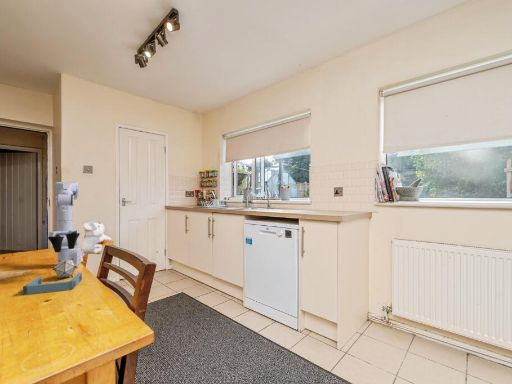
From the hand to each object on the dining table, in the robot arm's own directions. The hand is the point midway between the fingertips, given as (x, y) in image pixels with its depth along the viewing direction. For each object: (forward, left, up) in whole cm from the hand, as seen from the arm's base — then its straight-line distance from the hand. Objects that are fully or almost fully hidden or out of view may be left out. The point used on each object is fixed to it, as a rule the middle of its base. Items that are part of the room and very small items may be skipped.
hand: (64, 250), depth 113 cm
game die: (-2, +5, -11) cm, 12 cm away
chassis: (-2, +16, -11) cm, 20 cm away
